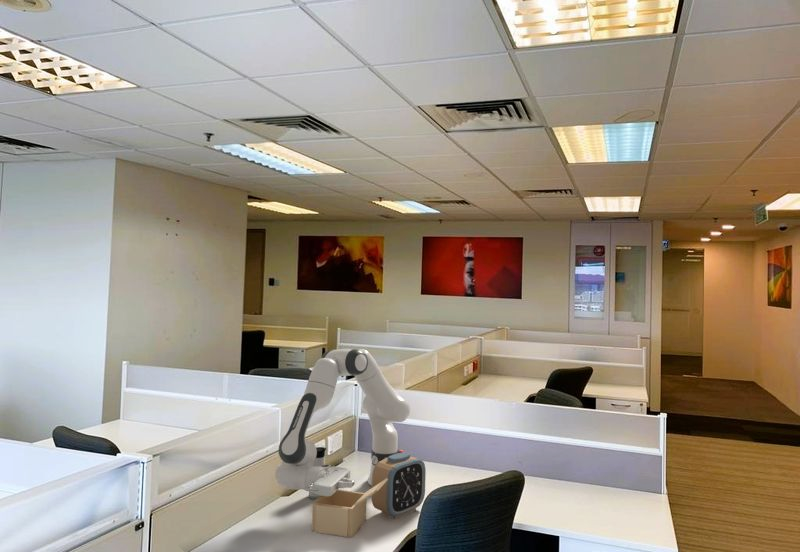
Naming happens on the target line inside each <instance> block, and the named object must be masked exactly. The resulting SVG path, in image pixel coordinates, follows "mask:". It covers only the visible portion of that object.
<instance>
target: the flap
mask: <svg viewBox="0 0 800 552" xmlns="http://www.w3.org/2000/svg"><path fill="white" fill-rule="evenodd" d="M387 480H388V479H387V478H386V479H385V480H383V481H382V482H380V483H379V484H377V485H376V486H374V487H373V488H372V487H371V488H370V489H368V490H366V491H365V492H363V493H364V494H363V496H362V497H361V498H360V499H359V500H358V501H357V502H356V503H355V504H354V505H355V506H356V505H357V504H359V503H360V502H362V501H363V500H365V499H366V498H367V499H368V498H370V497H372V494H374V493H376V492H377V491H378V490H379V489H380V488H381V487H382V486H383V485H384V483H385V482H386V481H387Z"/></svg>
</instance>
